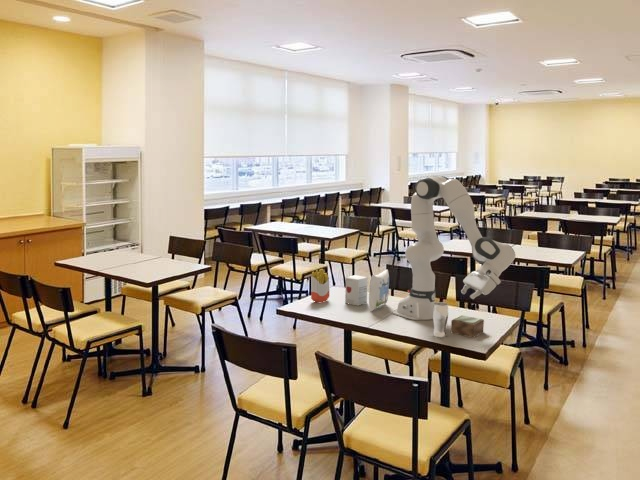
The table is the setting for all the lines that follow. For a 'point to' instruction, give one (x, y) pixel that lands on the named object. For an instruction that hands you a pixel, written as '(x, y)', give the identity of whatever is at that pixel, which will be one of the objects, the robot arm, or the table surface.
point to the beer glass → (440, 319)
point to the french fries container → (319, 286)
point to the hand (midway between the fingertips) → (466, 295)
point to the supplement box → (356, 290)
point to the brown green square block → (467, 326)
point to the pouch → (378, 290)
